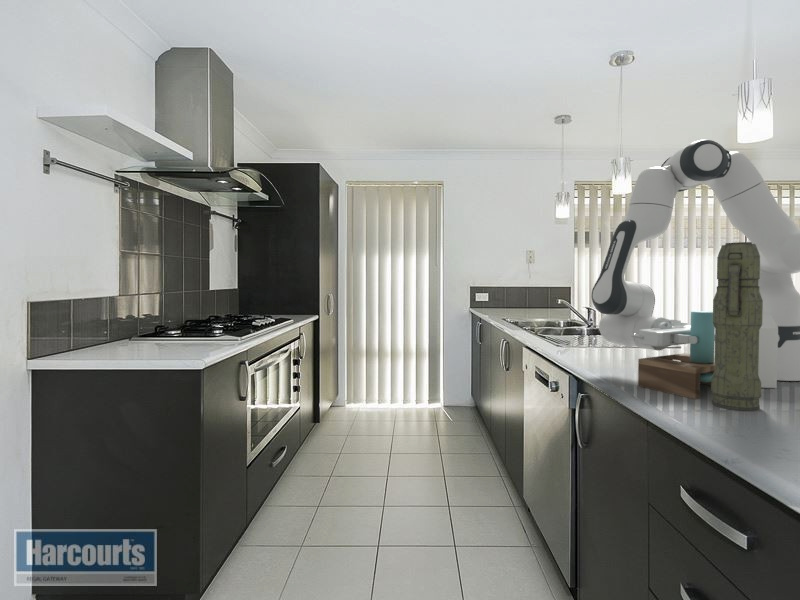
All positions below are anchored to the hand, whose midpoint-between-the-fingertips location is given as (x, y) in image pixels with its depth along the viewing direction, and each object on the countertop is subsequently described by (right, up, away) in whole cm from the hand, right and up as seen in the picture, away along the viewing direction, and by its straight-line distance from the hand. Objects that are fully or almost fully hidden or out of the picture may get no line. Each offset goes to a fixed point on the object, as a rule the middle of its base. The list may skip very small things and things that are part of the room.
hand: (706, 339), depth 119 cm
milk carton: (+16, -12, +7) cm, 21 cm away
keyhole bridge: (-2, -13, +4) cm, 13 cm away
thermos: (-1, -14, -12) cm, 18 cm away
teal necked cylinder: (0, -10, +1) cm, 10 cm away
